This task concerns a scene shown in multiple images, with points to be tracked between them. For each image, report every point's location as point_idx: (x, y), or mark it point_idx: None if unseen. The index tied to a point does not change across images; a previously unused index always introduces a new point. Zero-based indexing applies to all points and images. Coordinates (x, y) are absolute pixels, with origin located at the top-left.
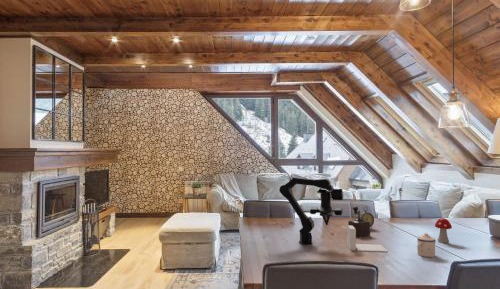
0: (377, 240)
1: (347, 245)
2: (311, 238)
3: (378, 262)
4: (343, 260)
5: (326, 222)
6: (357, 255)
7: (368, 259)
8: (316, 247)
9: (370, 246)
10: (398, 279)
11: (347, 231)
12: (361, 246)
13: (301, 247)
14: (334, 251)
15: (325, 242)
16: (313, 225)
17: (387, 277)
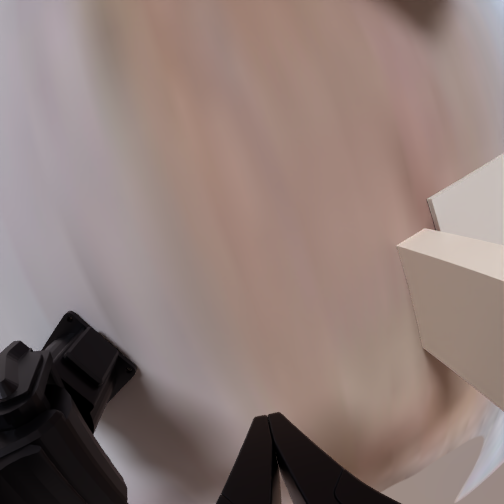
0: (470, 25)
1: (399, 251)
2: (108, 371)
3: (489, 417)
4: (390, 485)
5: (279, 477)
6: (446, 406)
7: (471, 416)
8: (210, 425)
9: (502, 214)
10: (485, 471)
11: (479, 279)
12: None
13: (135, 458)
14: (343, 431)
15: (203, 249)
16: (91, 468)
17: (471, 481)
